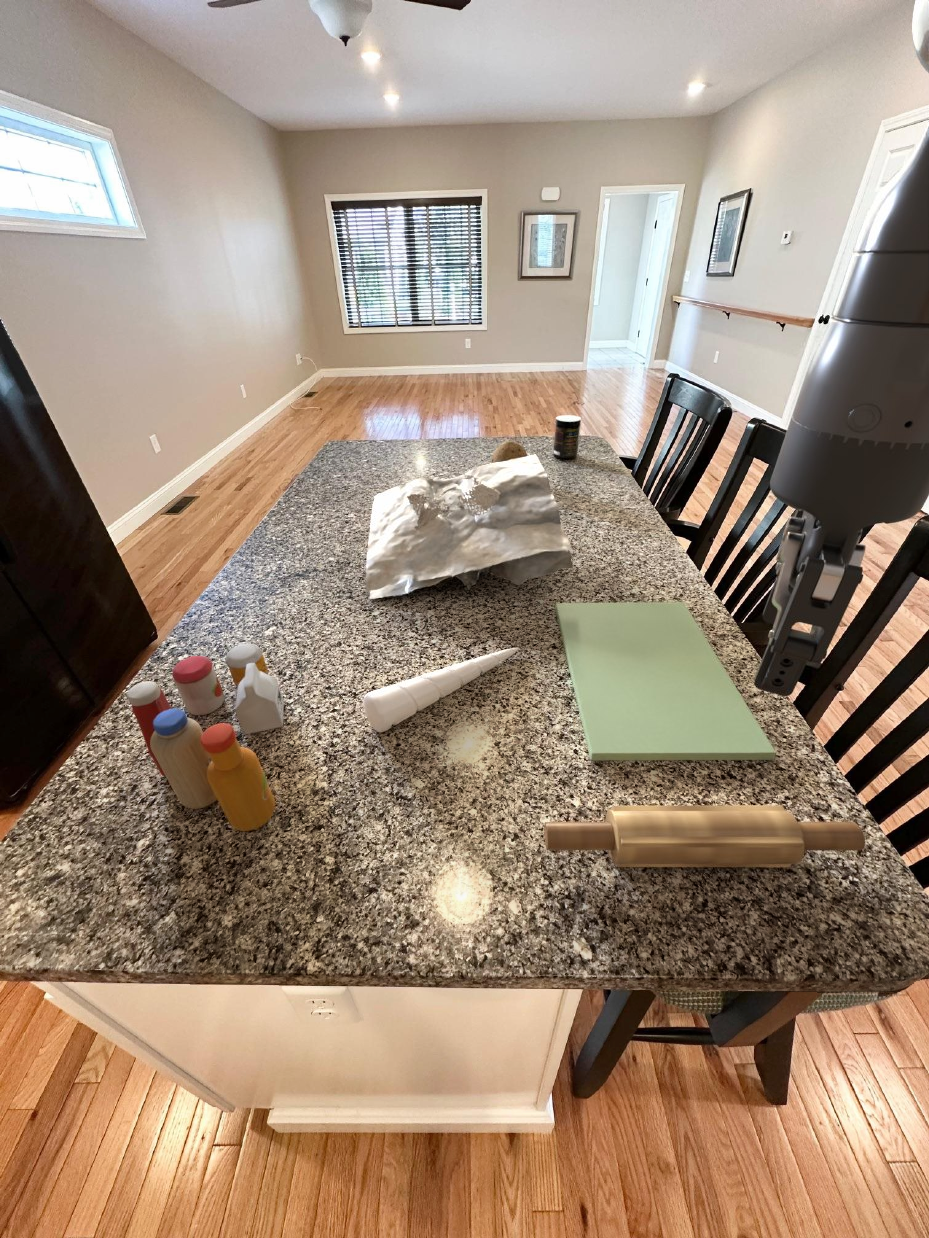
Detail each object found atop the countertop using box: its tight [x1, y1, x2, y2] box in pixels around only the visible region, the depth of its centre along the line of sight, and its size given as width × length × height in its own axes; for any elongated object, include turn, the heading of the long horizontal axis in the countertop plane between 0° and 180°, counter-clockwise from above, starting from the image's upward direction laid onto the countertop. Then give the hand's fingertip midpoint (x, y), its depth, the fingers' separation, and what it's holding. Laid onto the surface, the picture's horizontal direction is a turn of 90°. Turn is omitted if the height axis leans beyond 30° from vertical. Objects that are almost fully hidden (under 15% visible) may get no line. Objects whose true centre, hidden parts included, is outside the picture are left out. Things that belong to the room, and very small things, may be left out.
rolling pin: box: [543, 804, 866, 868], centre depth 47 cm, size 28×5×5 cm, turn 89°
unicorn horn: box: [362, 647, 520, 733], centre depth 65 cm, size 5×24×5 cm, turn 124°
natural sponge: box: [490, 440, 528, 463], centre depth 125 cm, size 9×9×10 cm
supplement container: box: [552, 414, 582, 462], centre depth 140 cm, size 7×7×10 cm
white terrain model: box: [365, 454, 574, 600], centre depth 95 cm, size 35×16×32 cm
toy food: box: [126, 643, 285, 832], centre depth 57 cm, size 27×13×12 cm, turn 15°
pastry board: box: [554, 601, 777, 761], centre depth 69 cm, size 30×20×1 cm, turn 179°
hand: (774, 653), depth 37 cm, fingers open, 8 cm apart
